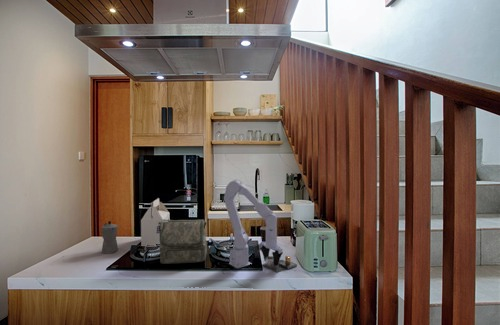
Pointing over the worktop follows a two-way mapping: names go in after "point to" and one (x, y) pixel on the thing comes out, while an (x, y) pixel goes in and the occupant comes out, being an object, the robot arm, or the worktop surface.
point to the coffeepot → (109, 238)
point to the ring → (270, 261)
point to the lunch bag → (182, 241)
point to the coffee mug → (263, 234)
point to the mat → (276, 267)
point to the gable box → (153, 223)
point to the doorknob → (287, 263)
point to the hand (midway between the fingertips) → (271, 263)
